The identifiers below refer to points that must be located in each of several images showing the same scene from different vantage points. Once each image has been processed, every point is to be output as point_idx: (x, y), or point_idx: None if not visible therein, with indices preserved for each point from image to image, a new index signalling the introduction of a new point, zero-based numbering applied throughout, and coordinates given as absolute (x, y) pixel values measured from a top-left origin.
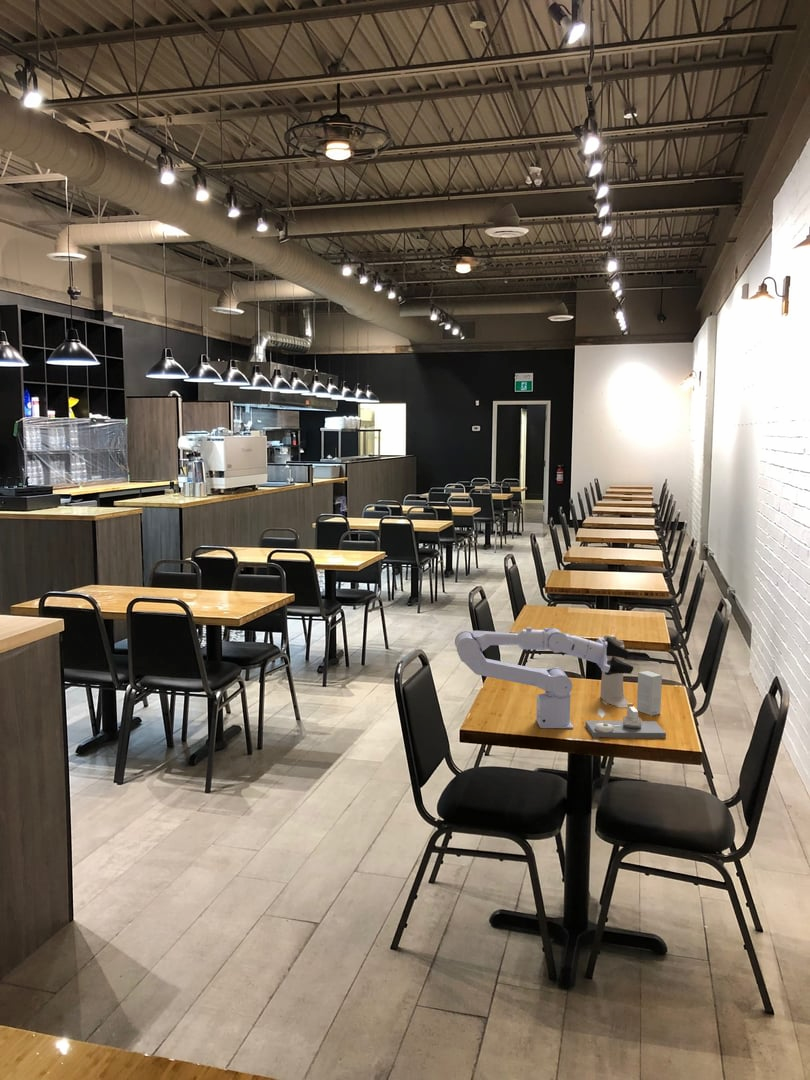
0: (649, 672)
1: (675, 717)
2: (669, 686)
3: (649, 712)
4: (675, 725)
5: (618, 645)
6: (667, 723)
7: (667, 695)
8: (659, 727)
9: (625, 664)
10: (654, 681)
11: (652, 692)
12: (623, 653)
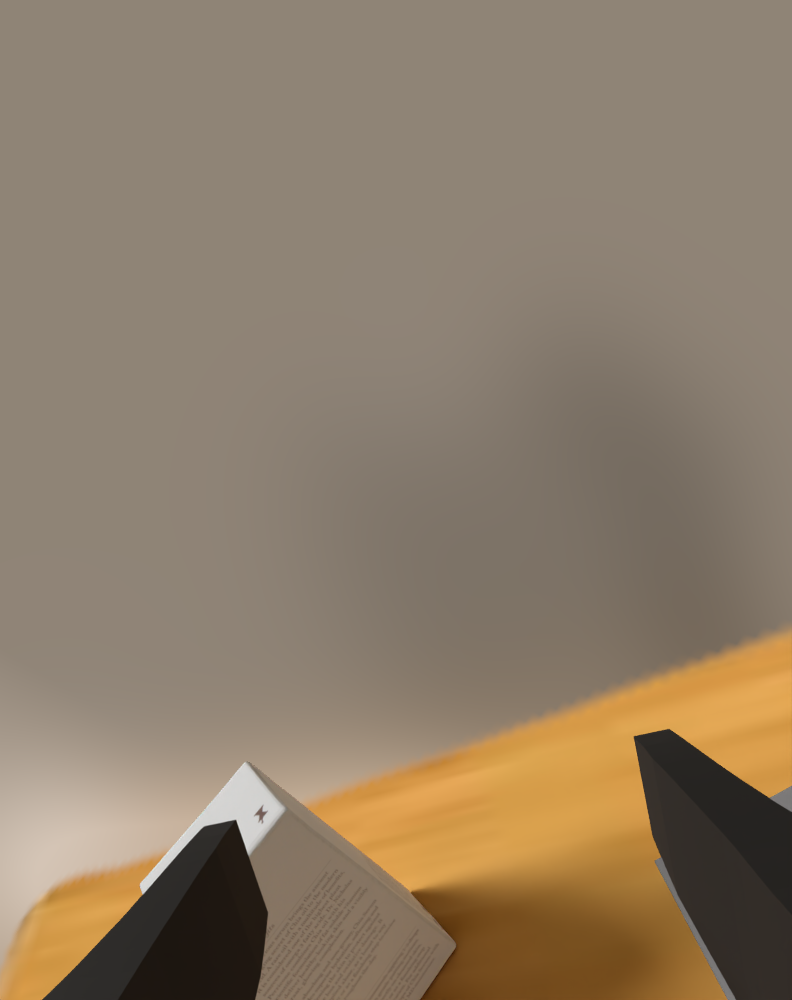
0: None
1: (447, 798)
2: (33, 924)
3: (440, 949)
4: (585, 765)
5: (60, 991)
6: (567, 814)
7: None
8: (789, 799)
9: (759, 806)
10: (301, 815)
11: (360, 865)
12: (221, 934)
